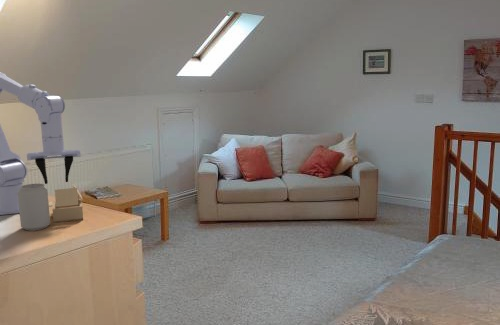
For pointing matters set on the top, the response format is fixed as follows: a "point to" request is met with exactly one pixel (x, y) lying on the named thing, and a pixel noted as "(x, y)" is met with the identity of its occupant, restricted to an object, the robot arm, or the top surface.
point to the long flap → (66, 197)
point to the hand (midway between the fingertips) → (56, 182)
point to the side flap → (77, 192)
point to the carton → (67, 212)
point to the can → (33, 207)
